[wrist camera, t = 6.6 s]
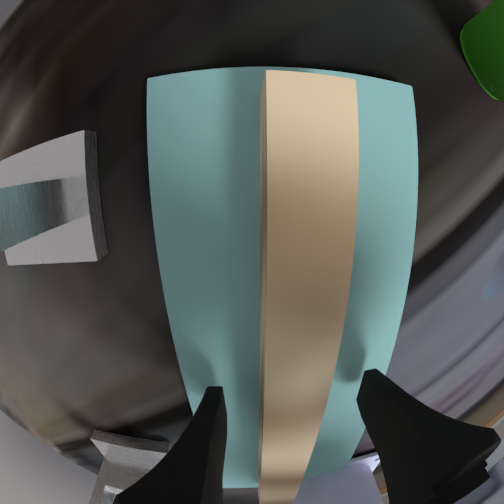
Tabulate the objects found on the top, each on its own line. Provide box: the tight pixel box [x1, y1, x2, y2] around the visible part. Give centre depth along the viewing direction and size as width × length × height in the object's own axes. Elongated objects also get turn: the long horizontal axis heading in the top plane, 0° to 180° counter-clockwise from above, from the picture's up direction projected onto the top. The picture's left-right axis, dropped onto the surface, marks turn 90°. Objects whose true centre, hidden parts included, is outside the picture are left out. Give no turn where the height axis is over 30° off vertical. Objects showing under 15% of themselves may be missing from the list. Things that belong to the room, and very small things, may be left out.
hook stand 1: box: [0, 130, 108, 265], centre depth 6 cm, size 5×6×6 cm
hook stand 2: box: [89, 429, 172, 504], centre depth 12 cm, size 5×6×6 cm
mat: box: [147, 67, 418, 488], centre depth 12 cm, size 26×10×1 cm, turn 2°
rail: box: [258, 70, 359, 504], centre depth 10 cm, size 24×2×2 cm, turn 1°
